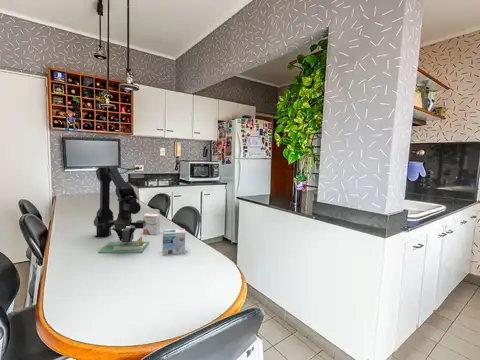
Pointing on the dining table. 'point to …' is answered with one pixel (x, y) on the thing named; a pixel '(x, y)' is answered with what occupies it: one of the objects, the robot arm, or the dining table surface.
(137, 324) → the dining table surface
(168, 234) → the light bulb box
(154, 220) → the ink cartridge box
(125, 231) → the block
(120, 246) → the board
